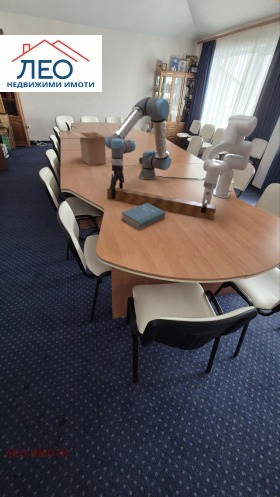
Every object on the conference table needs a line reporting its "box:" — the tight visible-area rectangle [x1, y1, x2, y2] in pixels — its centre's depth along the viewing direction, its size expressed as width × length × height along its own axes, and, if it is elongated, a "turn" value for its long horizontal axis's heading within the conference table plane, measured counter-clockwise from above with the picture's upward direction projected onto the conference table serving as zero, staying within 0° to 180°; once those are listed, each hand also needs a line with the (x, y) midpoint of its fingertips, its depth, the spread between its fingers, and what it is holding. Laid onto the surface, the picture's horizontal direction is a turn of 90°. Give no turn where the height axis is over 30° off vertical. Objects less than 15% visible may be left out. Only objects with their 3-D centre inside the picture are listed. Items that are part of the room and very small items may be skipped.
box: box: [70, 129, 112, 166], centre depth 229 cm, size 44×36×27 cm
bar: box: [106, 186, 217, 221], centre depth 153 cm, size 76×5×8 cm, turn 72°
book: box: [121, 203, 166, 230], centre depth 139 cm, size 23×16×5 cm
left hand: (117, 194), depth 160 cm, fingers open, 13 cm apart
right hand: (203, 209), depth 146 cm, fingers open, 9 cm apart
